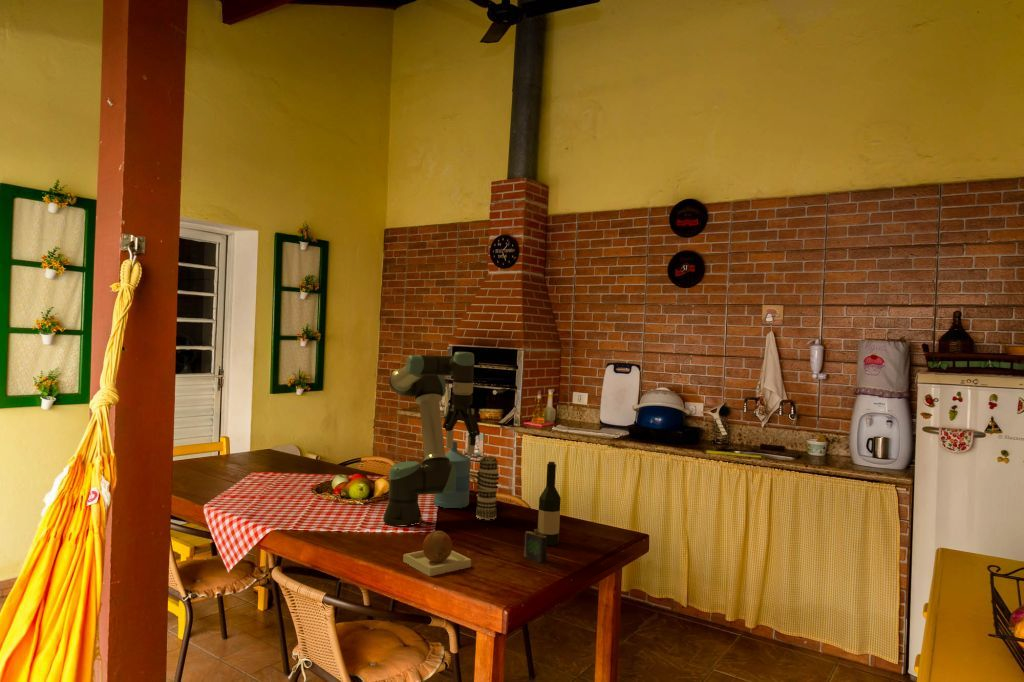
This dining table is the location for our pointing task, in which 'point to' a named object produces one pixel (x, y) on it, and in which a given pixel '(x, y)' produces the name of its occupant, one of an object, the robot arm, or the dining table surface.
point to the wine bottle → (550, 508)
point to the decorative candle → (487, 488)
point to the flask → (535, 546)
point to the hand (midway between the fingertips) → (459, 451)
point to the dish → (436, 563)
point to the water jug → (456, 481)
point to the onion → (437, 546)
